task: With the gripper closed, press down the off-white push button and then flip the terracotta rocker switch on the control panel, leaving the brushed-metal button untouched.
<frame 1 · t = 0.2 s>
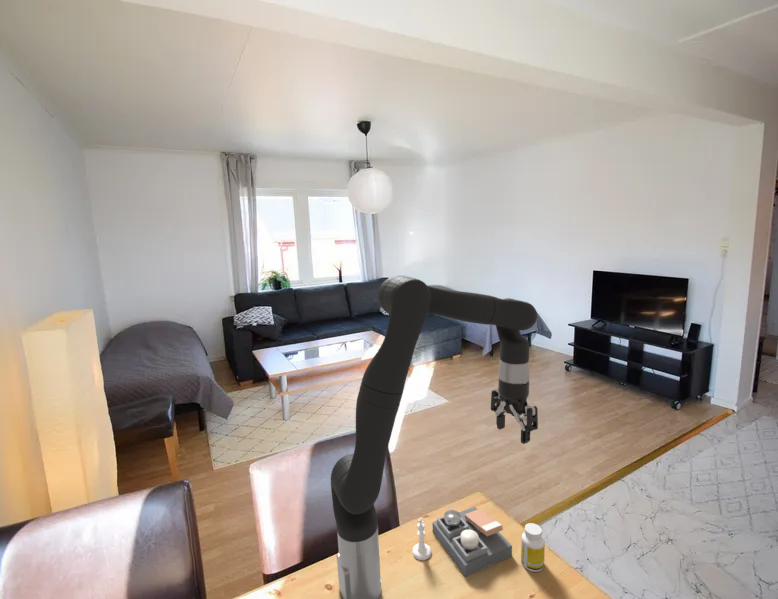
hand: (512, 435, 106), 28 cm above the table, tool pointing down, fingers open, 8 cm apart
chess piece: (421, 553, 105), on the table
white button: (469, 539, 101), point 5 cm above the table, slide at 0.0 cm
metal button: (452, 518, 108), point 5 cm above the table, slide at 0.0 cm
rocker: (483, 521, 108), point 5 cm above the table, hinge at -12.0°
panel: (470, 543, 107), on the table
supplement bottle: (532, 564, 100), on the table
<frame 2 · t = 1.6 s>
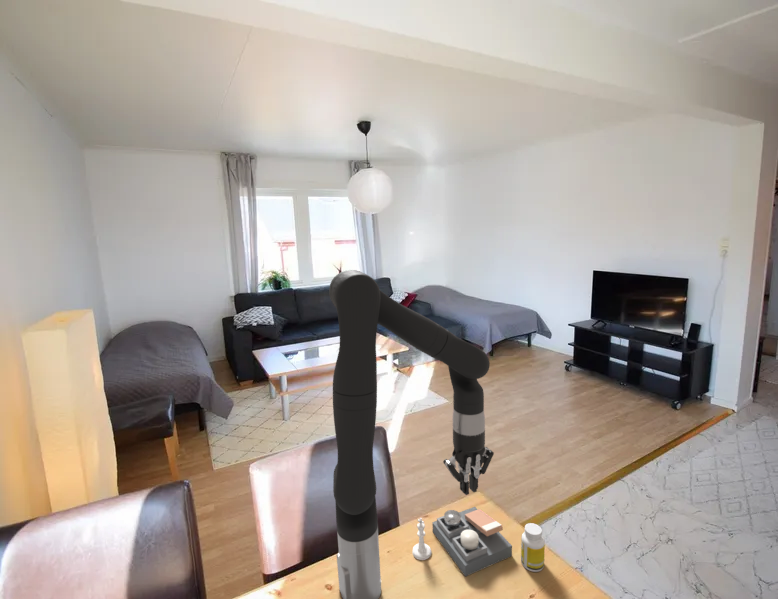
hand: (469, 491, 99), 19 cm above the table, tool pointing down, fingers closed
nothing on the table moved.
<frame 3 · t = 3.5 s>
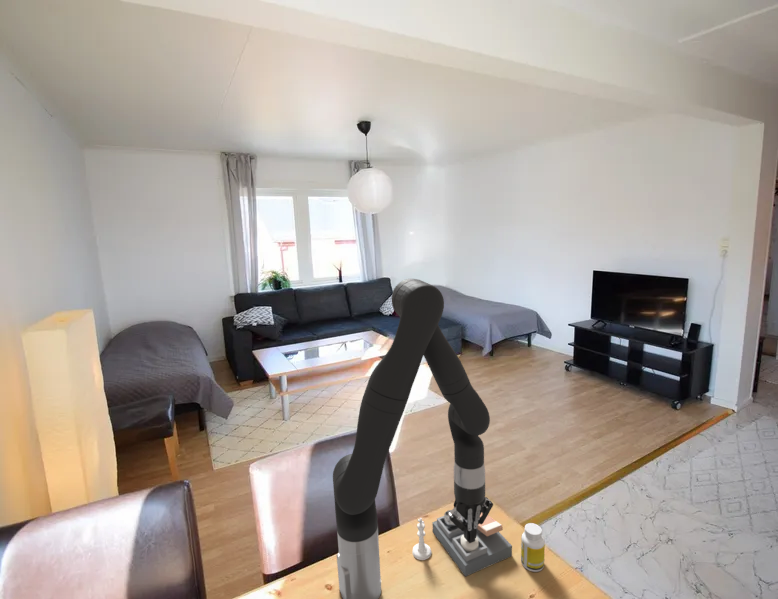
hand: (470, 539, 101), 5 cm above the table, tool pointing down, fingers closed
white button: (469, 543, 101), point 4 cm above the table, slide at 1.1 cm, touching gripper
everything else where it was.
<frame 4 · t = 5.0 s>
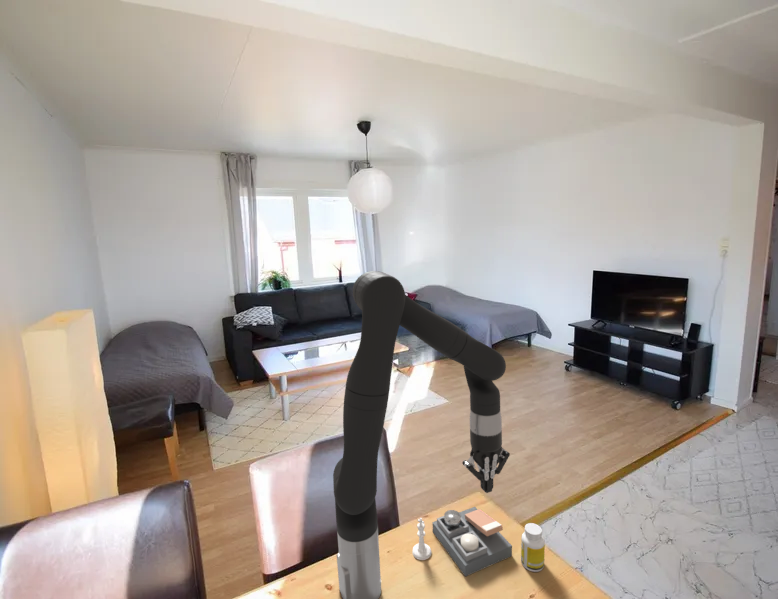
hand: (487, 490, 101), 18 cm above the table, tool pointing down, fingers closed
white button: (469, 543, 101), point 4 cm above the table, slide at 1.2 cm
everything else where it was.
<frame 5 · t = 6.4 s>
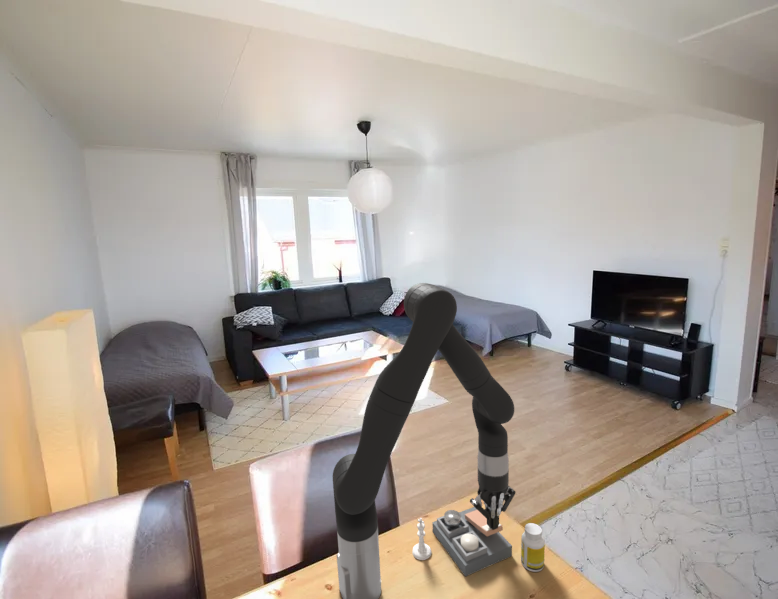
hand: (493, 527, 104), 7 cm above the table, tool pointing down, fingers closed
rocker: (483, 521, 108), point 5 cm above the table, hinge at -11.7°, touching gripper
everything else where it was.
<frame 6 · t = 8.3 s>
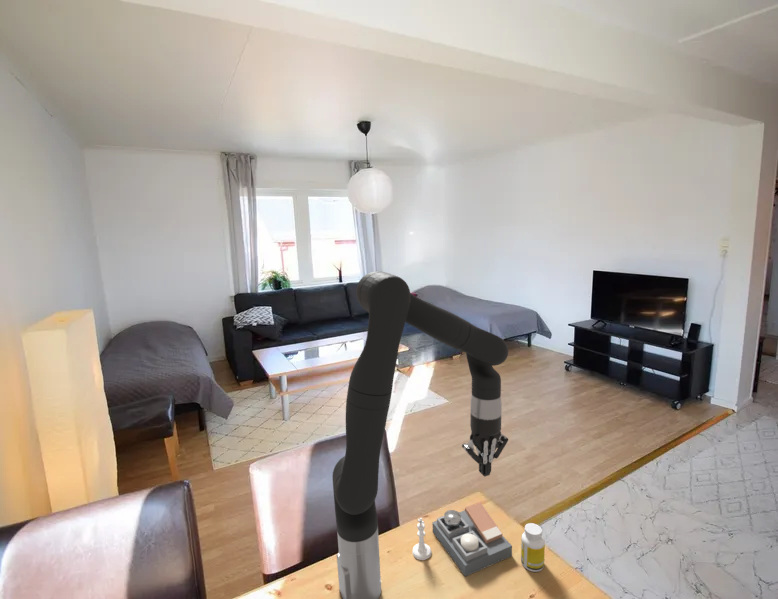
hand: (485, 474, 103), 20 cm above the table, tool pointing down, fingers closed
rocker: (483, 521, 108), point 5 cm above the table, hinge at 16.3°
everything else where it was.
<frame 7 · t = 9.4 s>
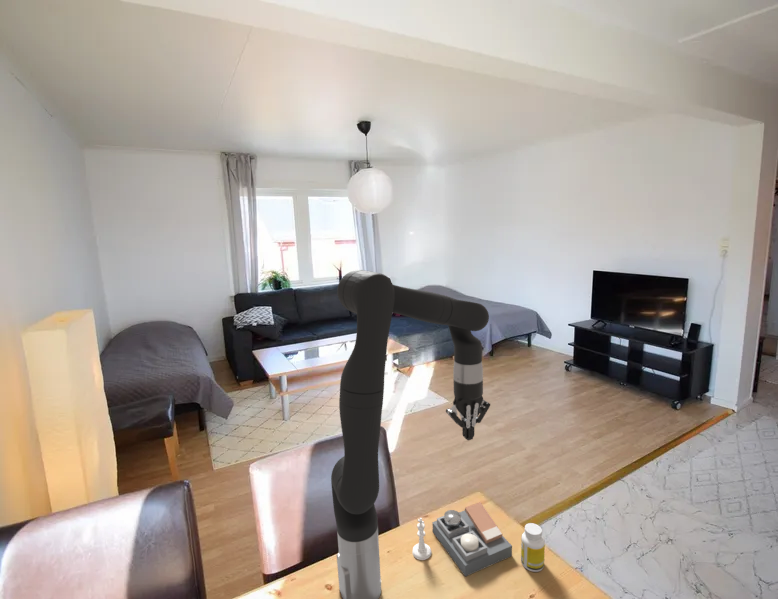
hand: (468, 438, 108), 27 cm above the table, tool pointing down, fingers closed
rocker: (483, 521, 108), point 5 cm above the table, hinge at 16.8°, touching panel
everything else where it was.
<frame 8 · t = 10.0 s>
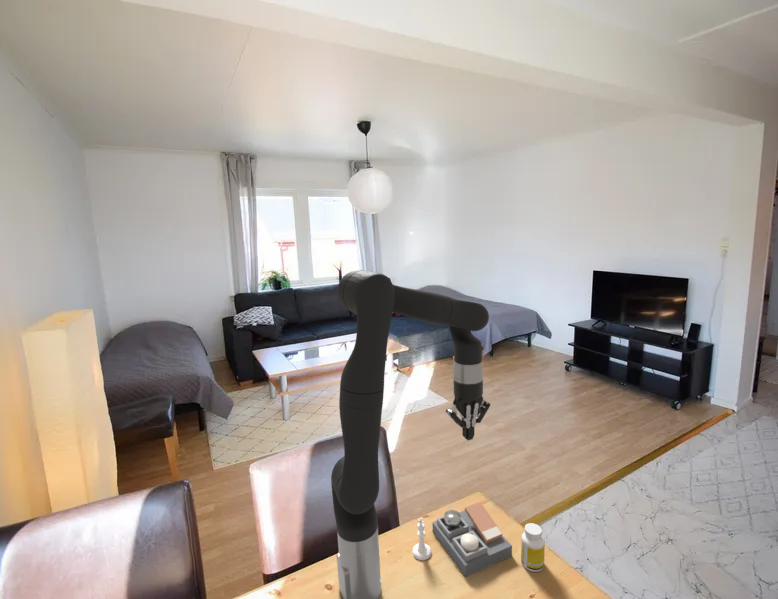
hand: (468, 438, 108), 27 cm above the table, tool pointing down, fingers closed
nothing on the table moved.
at the end: white button slide at 1.2 cm; rocker at +17° (first picture: -12°); metal button slide at 0.0 cm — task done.
